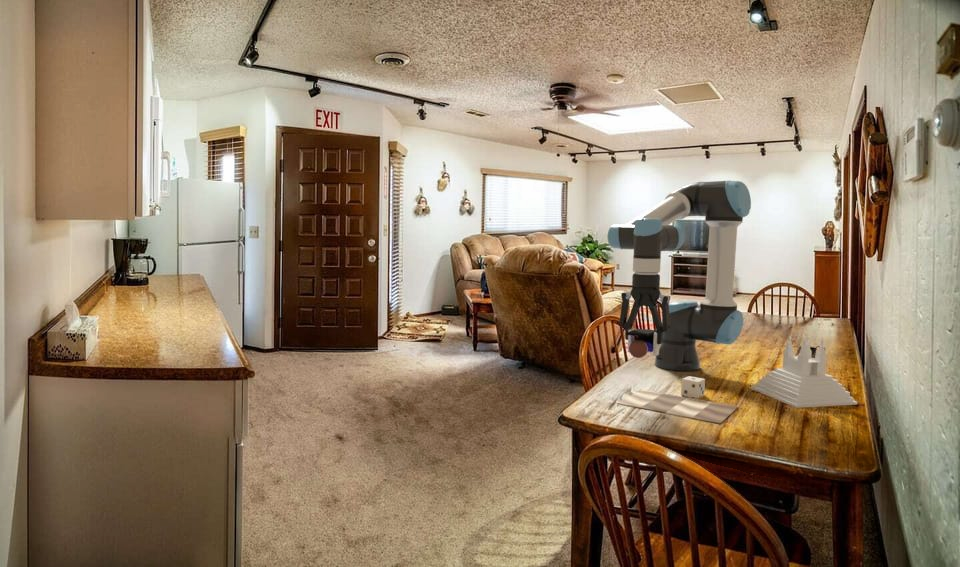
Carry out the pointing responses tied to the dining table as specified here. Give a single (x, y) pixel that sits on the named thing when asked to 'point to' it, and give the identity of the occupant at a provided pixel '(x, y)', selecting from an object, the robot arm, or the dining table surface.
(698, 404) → the board
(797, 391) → the castle model
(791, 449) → the dining table surface
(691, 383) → the die
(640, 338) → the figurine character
